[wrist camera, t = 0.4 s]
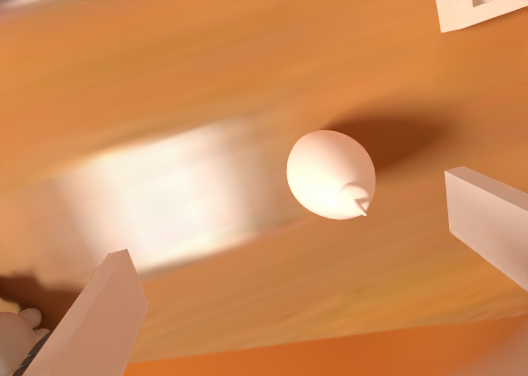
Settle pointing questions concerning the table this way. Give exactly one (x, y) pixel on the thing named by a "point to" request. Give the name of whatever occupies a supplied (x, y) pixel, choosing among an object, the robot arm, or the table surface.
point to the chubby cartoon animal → (18, 338)
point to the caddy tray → (472, 11)
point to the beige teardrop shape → (331, 175)
